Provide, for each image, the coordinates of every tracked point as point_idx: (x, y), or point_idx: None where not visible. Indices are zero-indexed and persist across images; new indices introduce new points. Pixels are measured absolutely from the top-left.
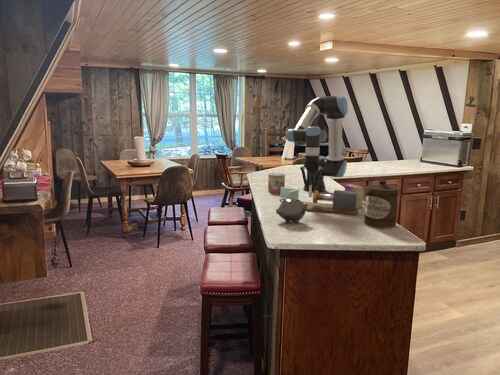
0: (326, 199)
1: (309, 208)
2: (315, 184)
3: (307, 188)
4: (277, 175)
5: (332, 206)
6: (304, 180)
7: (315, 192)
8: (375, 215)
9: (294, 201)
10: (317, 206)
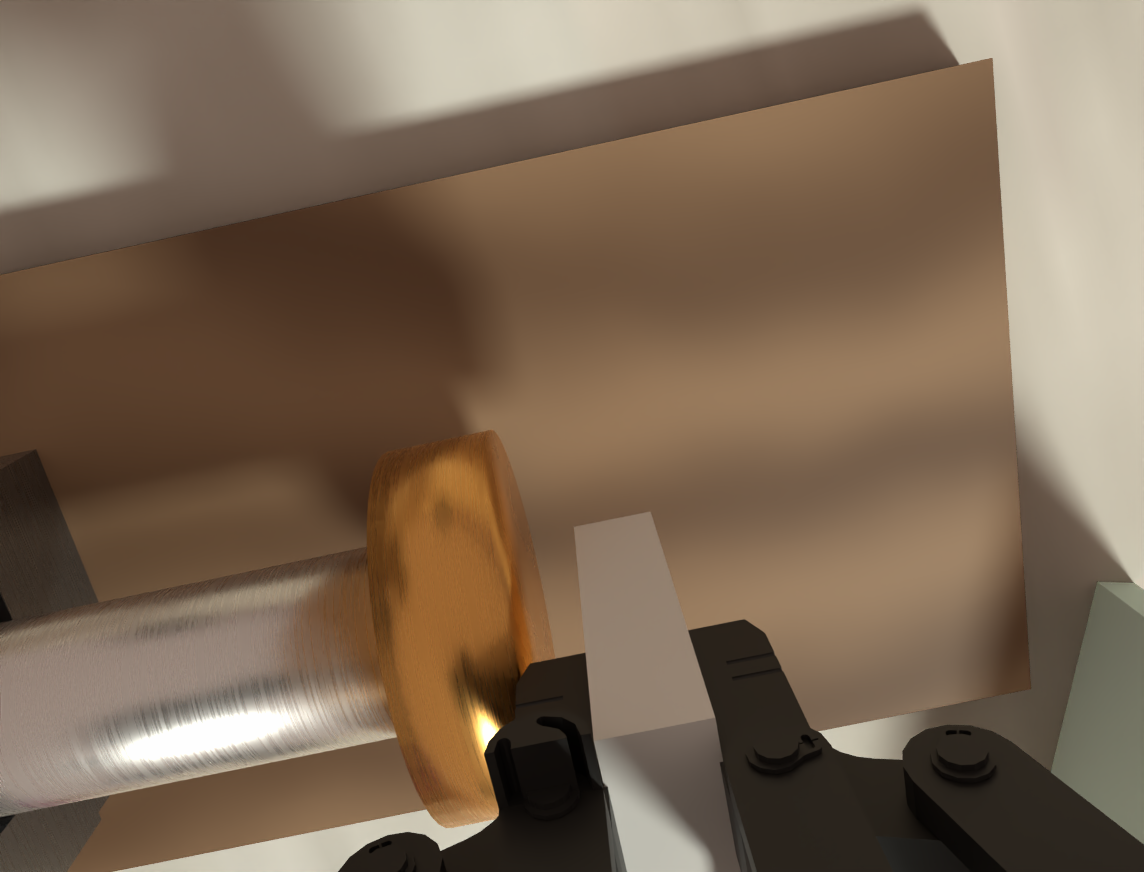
0: (145, 594)
1: (501, 190)
2: (424, 842)
3: (768, 673)
4: None
5: None
6: (1084, 863)
7: (424, 595)
8: None
9: None
10: None
